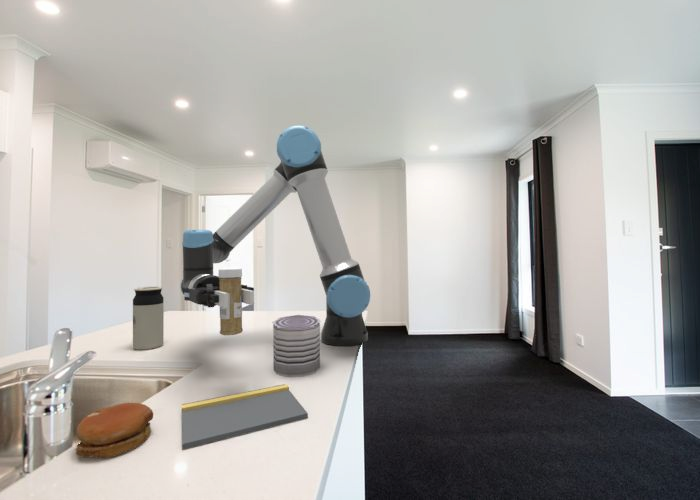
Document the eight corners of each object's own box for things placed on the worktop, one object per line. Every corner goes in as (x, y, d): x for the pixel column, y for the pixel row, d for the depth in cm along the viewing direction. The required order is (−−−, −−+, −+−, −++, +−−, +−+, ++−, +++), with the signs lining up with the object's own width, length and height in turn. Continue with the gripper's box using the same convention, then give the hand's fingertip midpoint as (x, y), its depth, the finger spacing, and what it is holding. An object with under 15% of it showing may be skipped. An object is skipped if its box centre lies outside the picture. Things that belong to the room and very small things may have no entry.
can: (325, 362, 84) (325, 315, 84) (311, 379, 73) (311, 325, 73) (284, 359, 86) (284, 314, 86) (264, 375, 75) (264, 323, 75)
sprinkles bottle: (245, 333, 66) (244, 267, 66) (222, 337, 64) (221, 268, 64) (239, 329, 70) (238, 267, 70) (216, 332, 67) (216, 268, 68)
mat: (284, 388, 68) (284, 381, 68) (307, 417, 55) (307, 409, 55) (182, 408, 59) (182, 400, 59) (182, 449, 47) (182, 439, 47)
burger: (142, 454, 46) (142, 421, 46) (61, 469, 43) (61, 433, 43) (159, 420, 55) (158, 393, 55) (93, 431, 52) (93, 401, 52)
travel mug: (165, 342, 104) (165, 286, 105) (160, 348, 97) (160, 288, 97) (136, 344, 101) (136, 287, 102) (129, 351, 94) (129, 289, 94)
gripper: (242, 301, 86) (281, 313, 68) (168, 309, 76) (190, 325, 57) (242, 273, 86) (280, 277, 68) (168, 276, 76) (190, 282, 57)
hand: (239, 299), depth 63 cm, fingers closed on sprinkles bottle, 4 cm apart
